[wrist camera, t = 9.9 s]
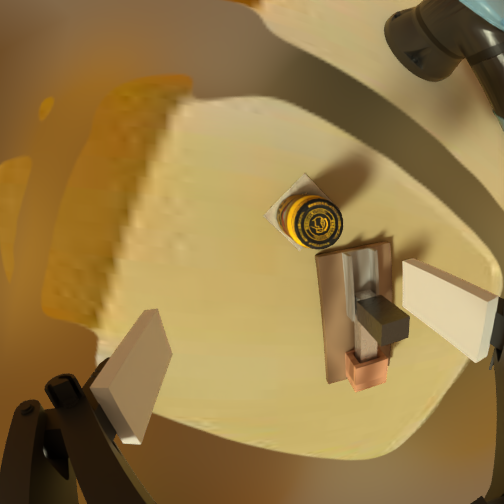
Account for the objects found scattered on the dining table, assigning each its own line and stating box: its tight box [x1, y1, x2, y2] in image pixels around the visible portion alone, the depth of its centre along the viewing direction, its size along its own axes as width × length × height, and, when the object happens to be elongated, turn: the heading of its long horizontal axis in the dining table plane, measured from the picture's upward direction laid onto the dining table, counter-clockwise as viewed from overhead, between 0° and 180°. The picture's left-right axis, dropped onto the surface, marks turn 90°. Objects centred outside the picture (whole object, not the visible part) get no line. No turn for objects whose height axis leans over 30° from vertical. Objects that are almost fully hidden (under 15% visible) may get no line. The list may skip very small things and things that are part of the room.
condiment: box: [263, 173, 343, 251], centre depth 34 cm, size 7×8×12 cm
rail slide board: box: [315, 241, 392, 392], centre depth 40 cm, size 12×23×7 cm, turn 10°
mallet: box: [354, 289, 410, 363], centre depth 36 cm, size 4×14×11 cm, turn 10°
